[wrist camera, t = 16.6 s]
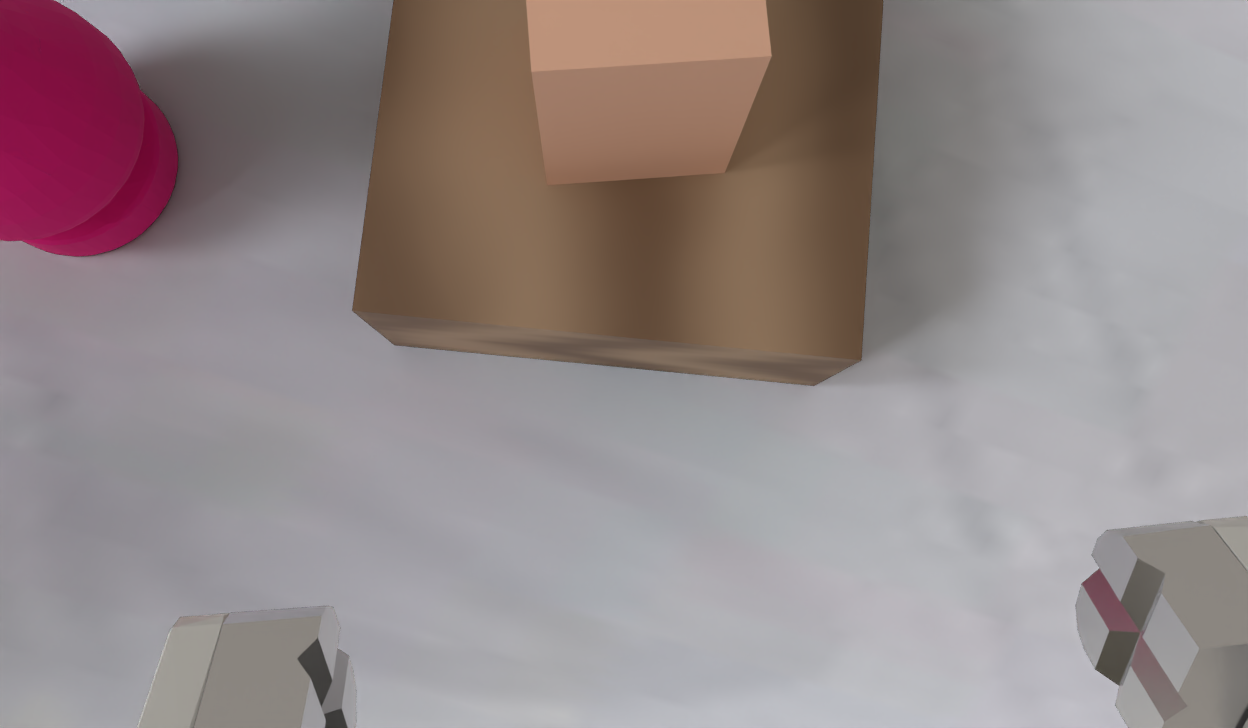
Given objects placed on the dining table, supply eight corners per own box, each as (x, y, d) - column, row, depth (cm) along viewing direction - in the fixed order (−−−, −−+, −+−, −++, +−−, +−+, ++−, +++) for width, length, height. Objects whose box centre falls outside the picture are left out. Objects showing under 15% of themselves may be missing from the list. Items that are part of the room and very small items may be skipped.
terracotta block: (547, 185, 28) (531, 72, 21) (534, 16, 29) (514, -152, 22) (724, 173, 29) (771, 56, 21) (708, 5, 29) (747, -165, 22)
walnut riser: (394, 344, 34) (352, 310, 28) (444, -49, 36) (414, -159, 30) (814, 385, 34) (861, 360, 28) (840, -7, 36) (890, -109, 30)
